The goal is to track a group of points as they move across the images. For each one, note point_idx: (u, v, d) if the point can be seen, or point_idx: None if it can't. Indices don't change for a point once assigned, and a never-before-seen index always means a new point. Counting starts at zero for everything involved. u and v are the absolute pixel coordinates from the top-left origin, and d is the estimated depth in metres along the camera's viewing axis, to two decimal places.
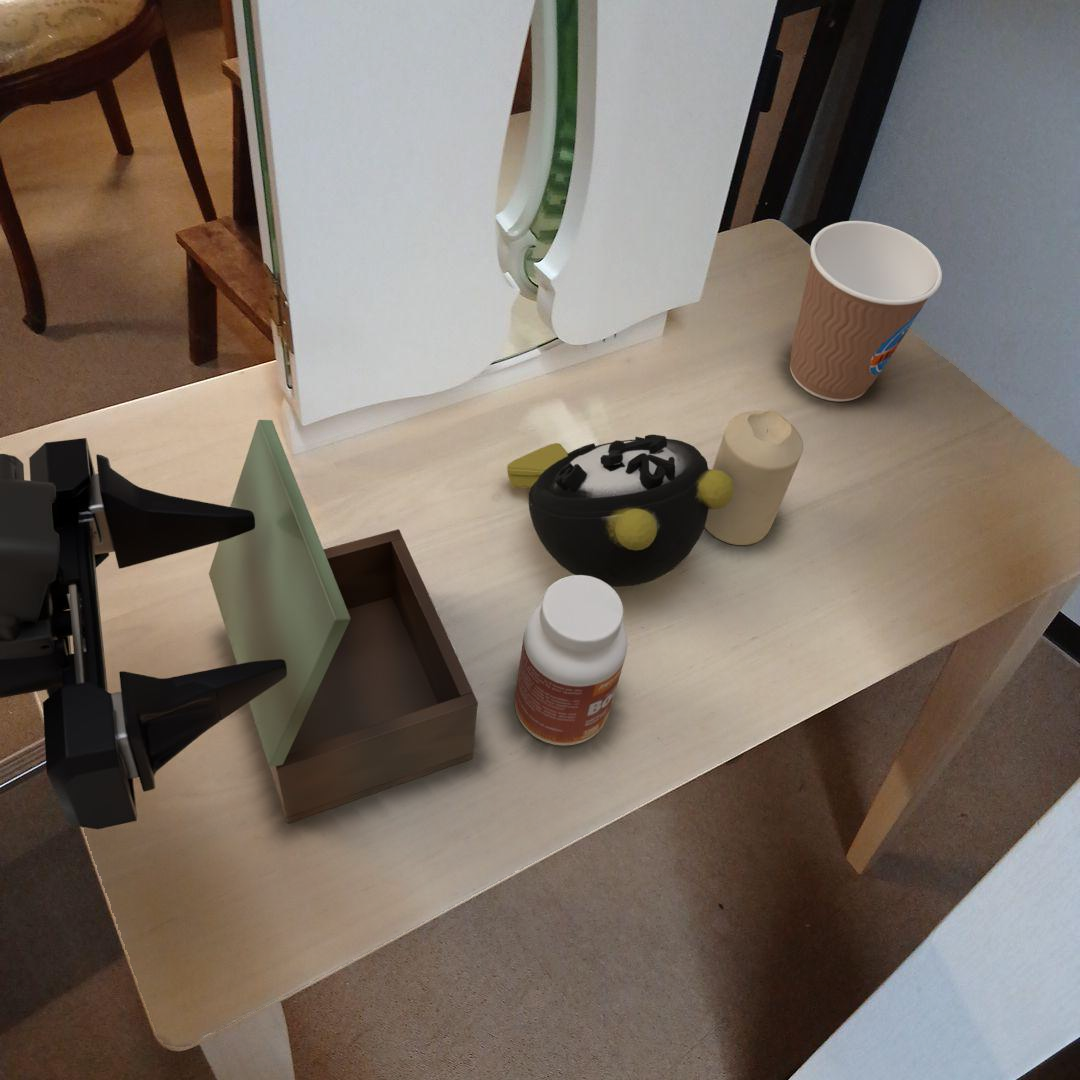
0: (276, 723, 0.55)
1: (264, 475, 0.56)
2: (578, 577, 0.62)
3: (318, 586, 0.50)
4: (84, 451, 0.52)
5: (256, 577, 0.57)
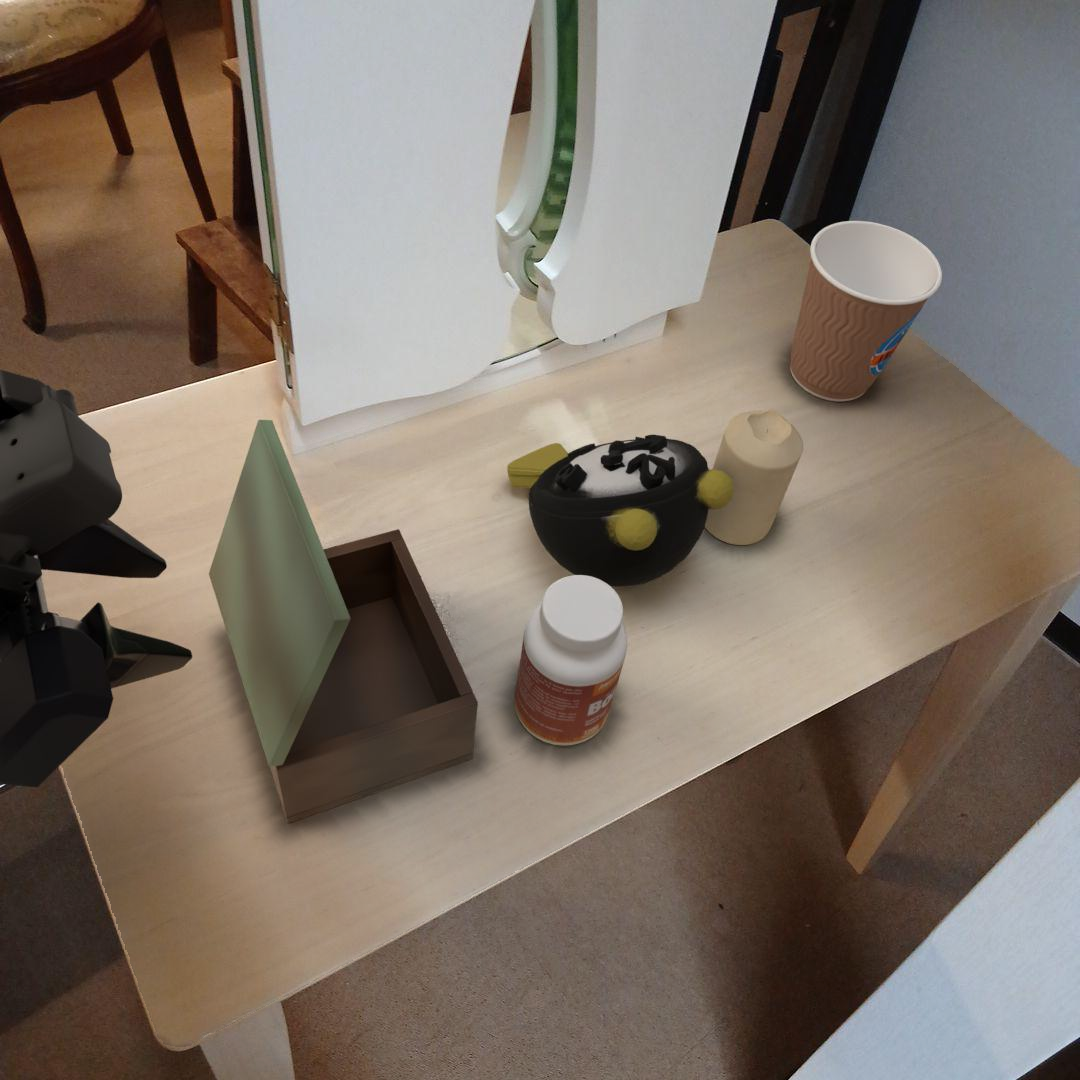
0: (276, 723, 0.55)
1: (264, 475, 0.56)
2: (578, 577, 0.62)
3: (318, 586, 0.50)
4: None
5: (256, 577, 0.57)
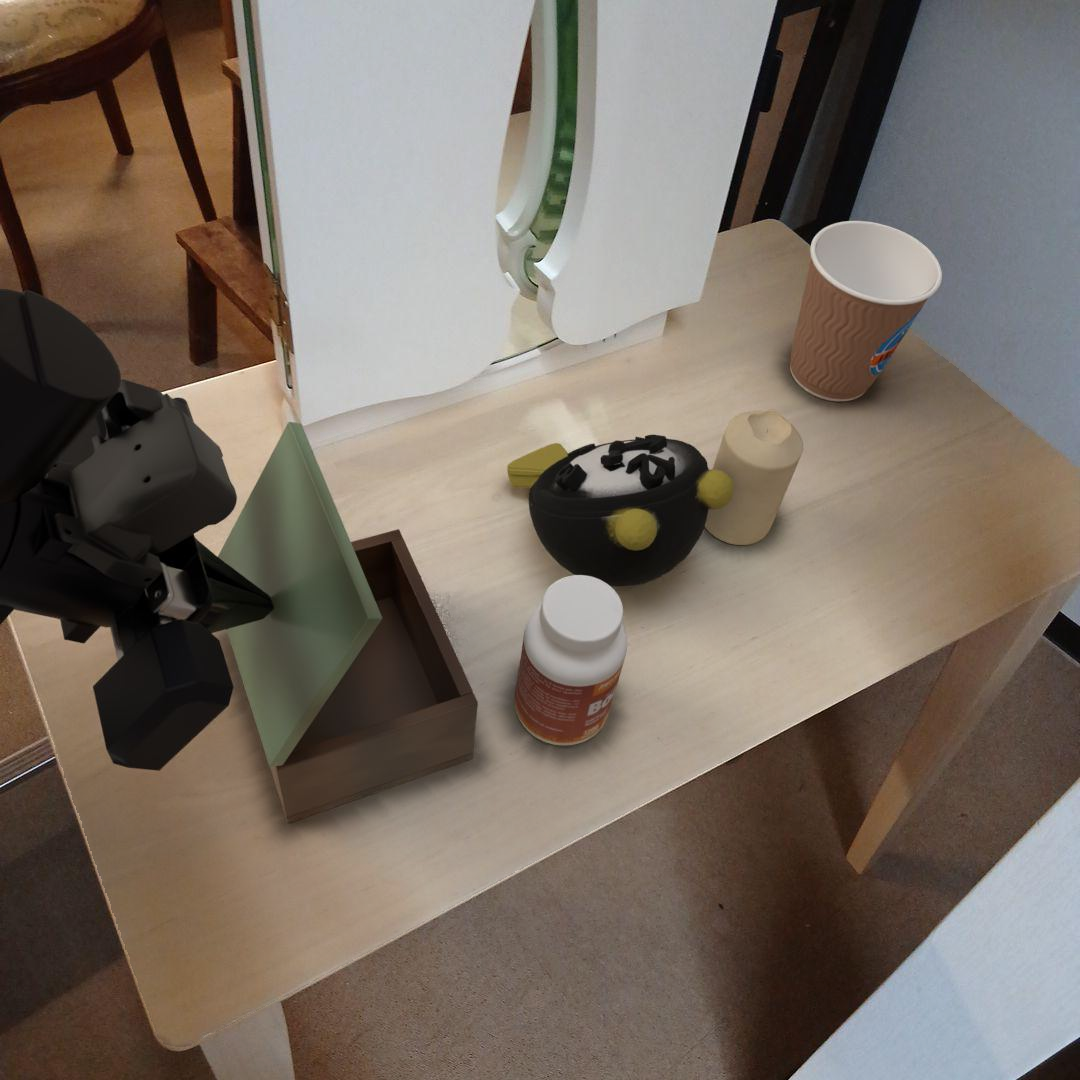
0: (283, 722, 0.55)
1: (291, 476, 0.56)
2: (578, 577, 0.62)
3: (349, 585, 0.51)
4: None
5: (271, 577, 0.57)
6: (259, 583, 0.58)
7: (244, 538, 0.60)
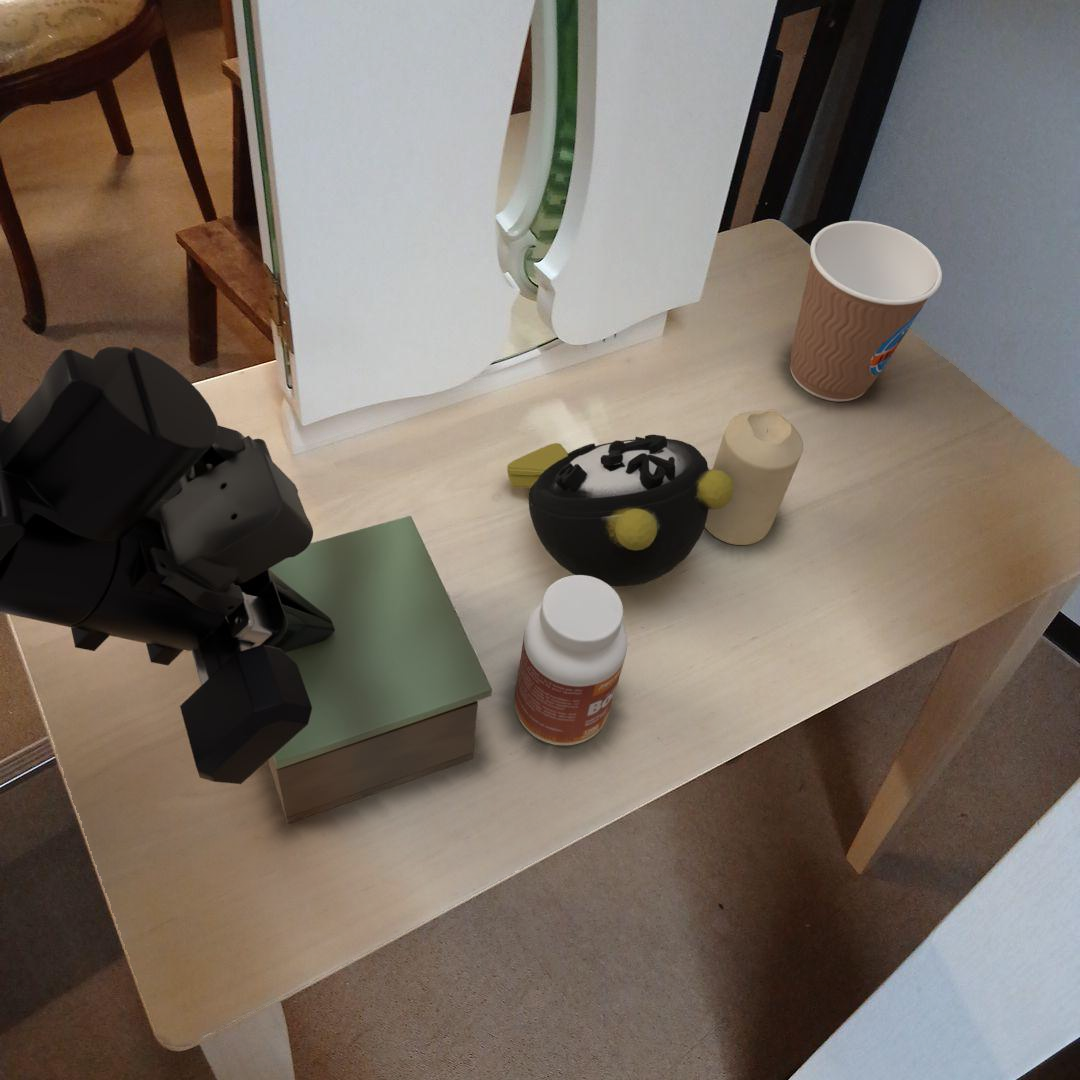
0: (318, 731, 0.58)
1: (401, 553, 0.66)
2: (578, 577, 0.62)
3: (470, 658, 0.61)
4: None
5: (340, 612, 0.63)
6: None
7: (300, 567, 0.64)
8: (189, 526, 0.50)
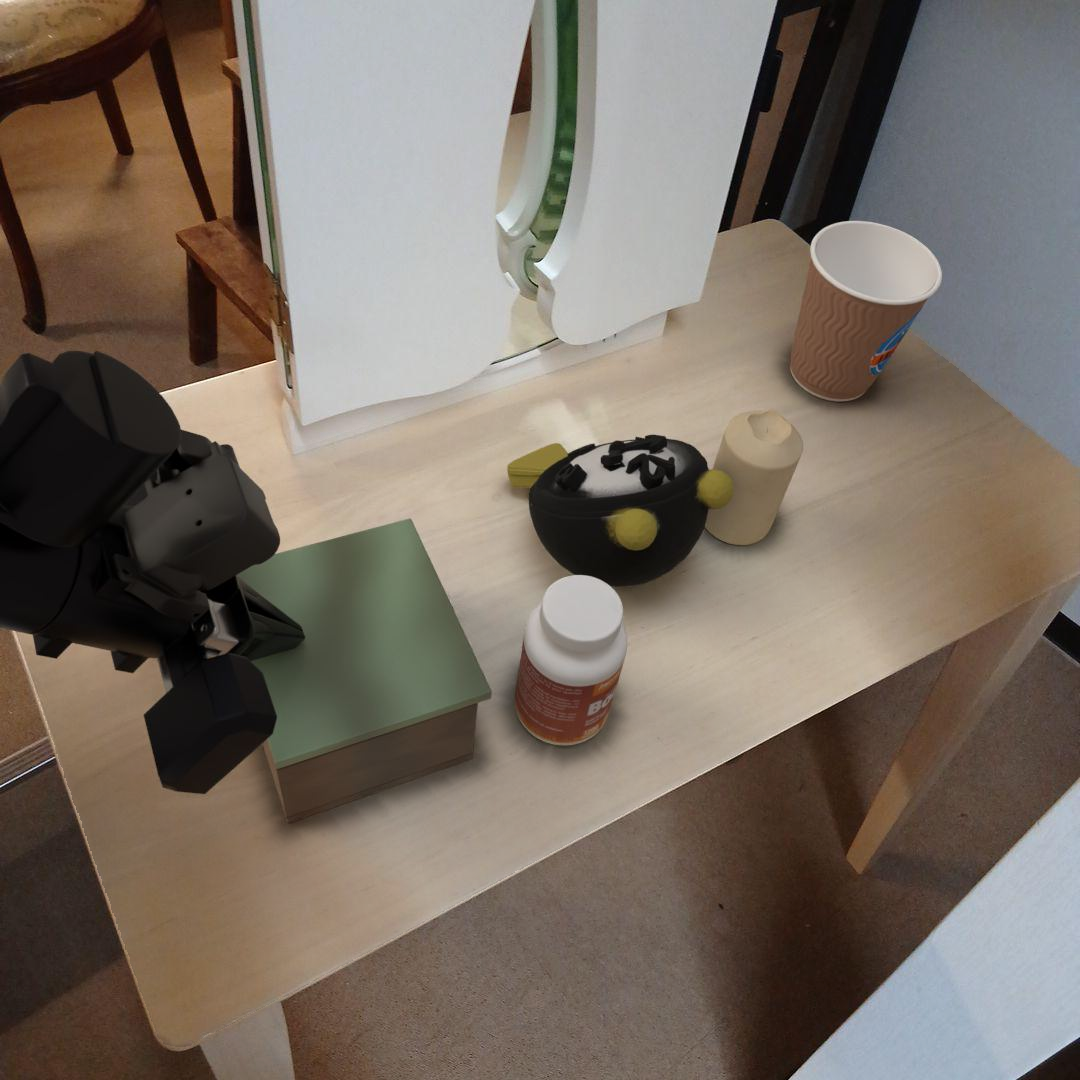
0: (318, 731, 0.58)
1: (402, 555, 0.66)
2: (578, 577, 0.62)
3: (470, 660, 0.61)
4: None
5: (341, 613, 0.63)
6: (315, 610, 0.63)
7: (301, 568, 0.64)
8: (153, 532, 0.49)
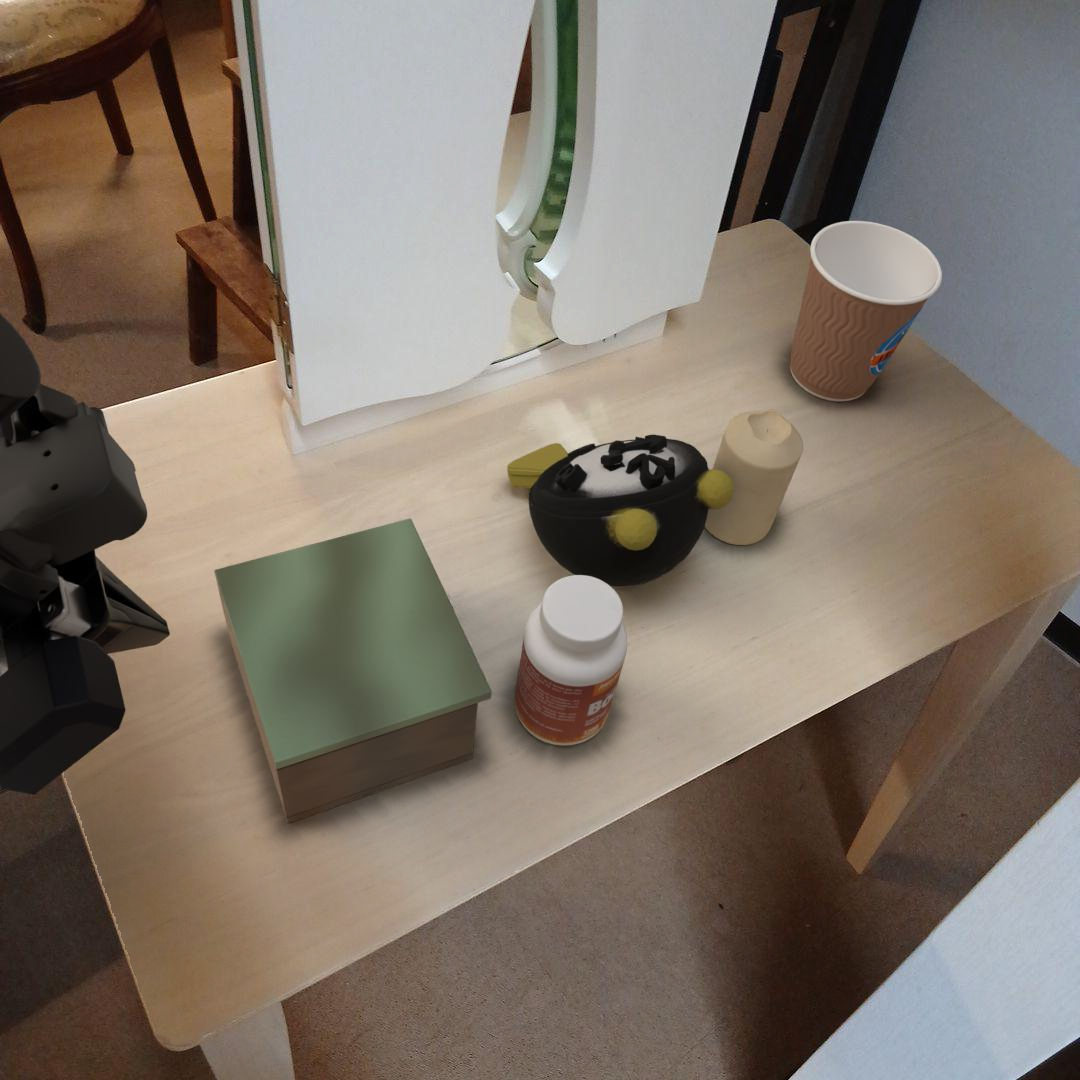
0: (318, 731, 0.58)
1: (402, 555, 0.66)
2: (578, 577, 0.62)
3: (470, 660, 0.61)
4: None
5: (341, 613, 0.63)
6: (315, 610, 0.63)
7: (301, 568, 0.64)
8: (1, 495, 0.44)
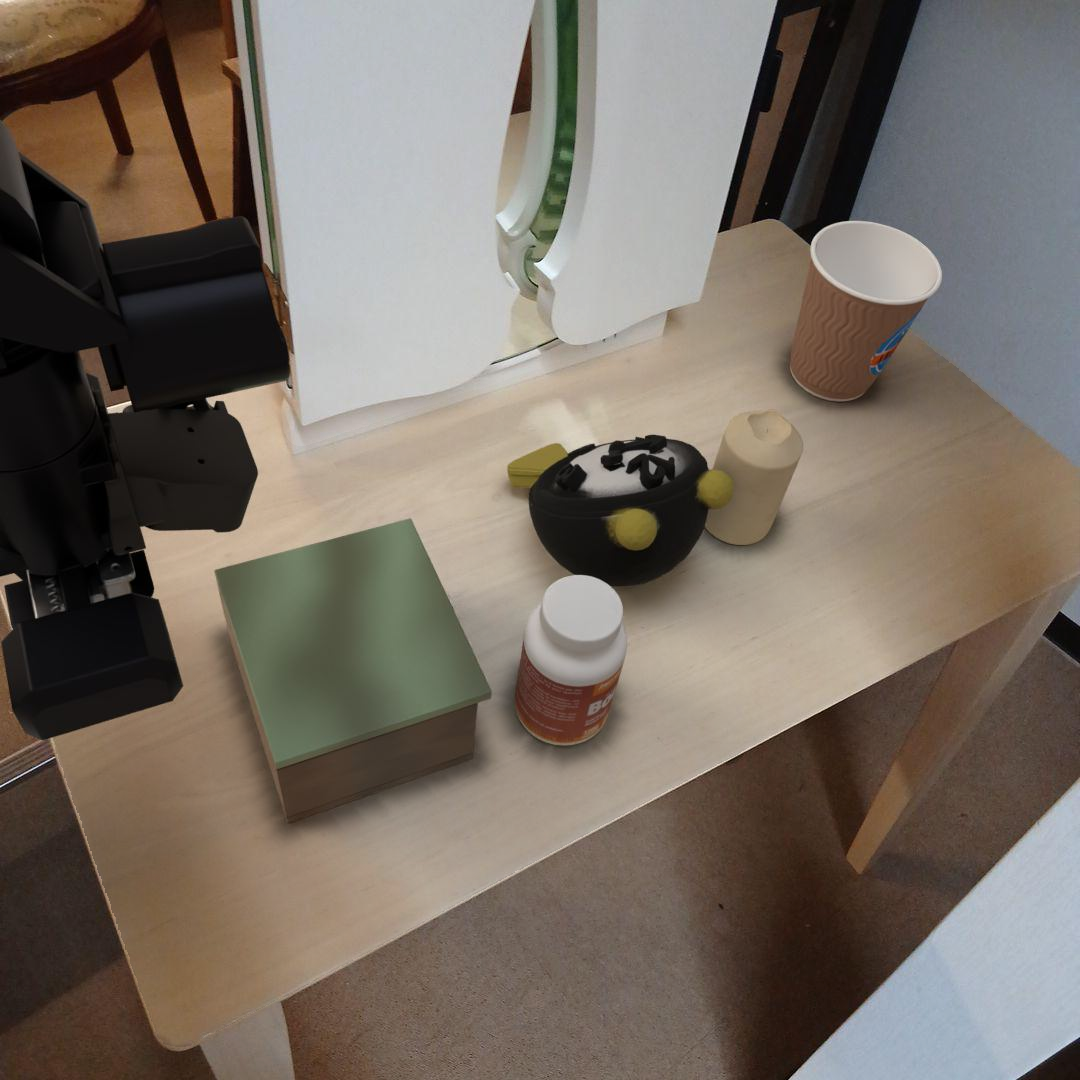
0: (318, 731, 0.58)
1: (402, 555, 0.66)
2: (578, 577, 0.62)
3: (470, 660, 0.61)
4: None
5: (341, 613, 0.63)
6: (315, 610, 0.63)
7: (301, 568, 0.64)
8: (144, 446, 0.45)
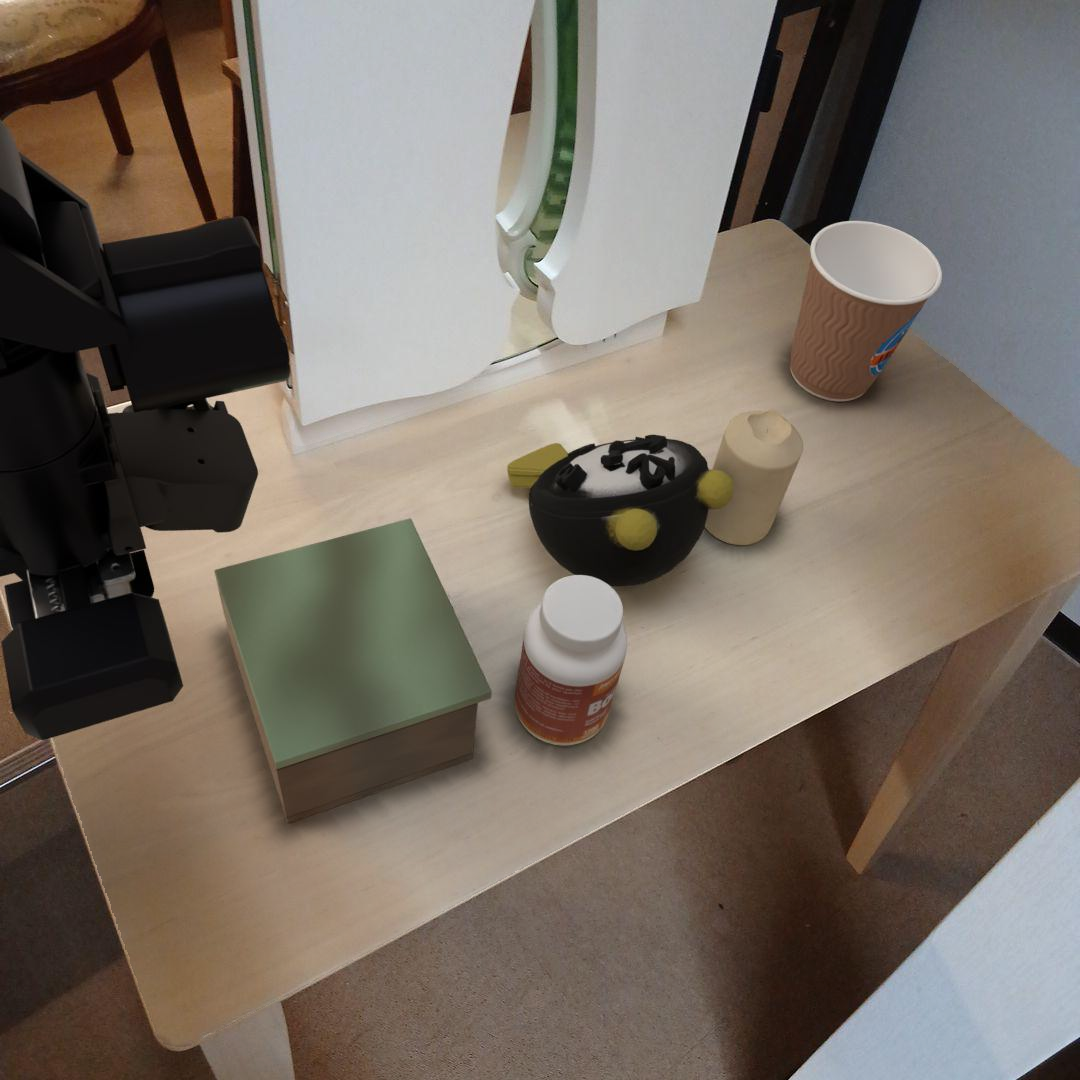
0: (318, 731, 0.58)
1: (402, 555, 0.66)
2: (578, 577, 0.62)
3: (470, 660, 0.61)
4: None
5: (341, 613, 0.63)
6: (315, 610, 0.63)
7: (301, 568, 0.64)
8: (144, 446, 0.45)
